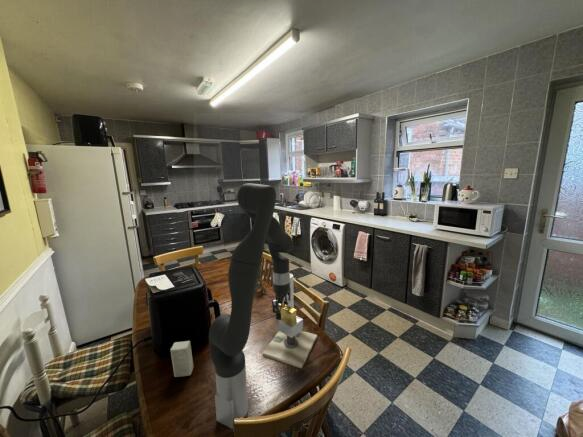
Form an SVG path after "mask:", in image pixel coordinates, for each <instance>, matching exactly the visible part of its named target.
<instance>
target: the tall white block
mask: <svg viewBox="0 0 583 437" xmlns="http://www.w3.org/2000/svg"><path fill="white" fill-rule="evenodd" d="M289 273H290V288H291V294H290V300H289V303H288V306H290V307H292V308H294V305H295V304H294V275H293V273H291V272H289ZM288 298H289V296H288ZM294 309H295V308H294ZM281 318H282V317H281Z"/></svg>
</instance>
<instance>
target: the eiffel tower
mask: <svg viewBox="0 0 583 437" xmlns="http://www.w3.org/2000/svg"><path fill="white" fill-rule="evenodd" d="M262 280H263V278H262V277H261V271H260V270H259V275H258V279H257V283H256V288H255V294H254V298H258V295H257V294H258V290H260V289H262V290H261V291H263V294H264V295H265V294H266V293H267V292H268V291H267V290H266V287H265V286H264V284H263V282H262ZM264 287H265V288H264Z"/></svg>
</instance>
